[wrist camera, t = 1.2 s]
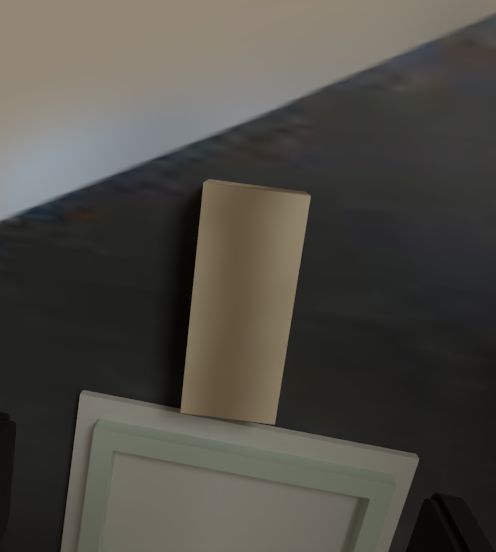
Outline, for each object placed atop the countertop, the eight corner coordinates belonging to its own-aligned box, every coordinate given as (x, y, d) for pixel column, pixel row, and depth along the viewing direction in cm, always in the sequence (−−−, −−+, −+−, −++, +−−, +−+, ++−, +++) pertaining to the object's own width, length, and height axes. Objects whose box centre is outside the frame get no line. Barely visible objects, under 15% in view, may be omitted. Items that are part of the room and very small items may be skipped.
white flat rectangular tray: (416, 453, 28) (425, 470, 27) (360, 621, 32) (365, 644, 30) (83, 390, 28) (73, 403, 26) (61, 567, 31) (51, 587, 30)
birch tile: (304, 191, 25) (310, 196, 22) (273, 396, 28) (274, 424, 25) (210, 179, 25) (203, 182, 22) (188, 385, 28) (180, 412, 25)
